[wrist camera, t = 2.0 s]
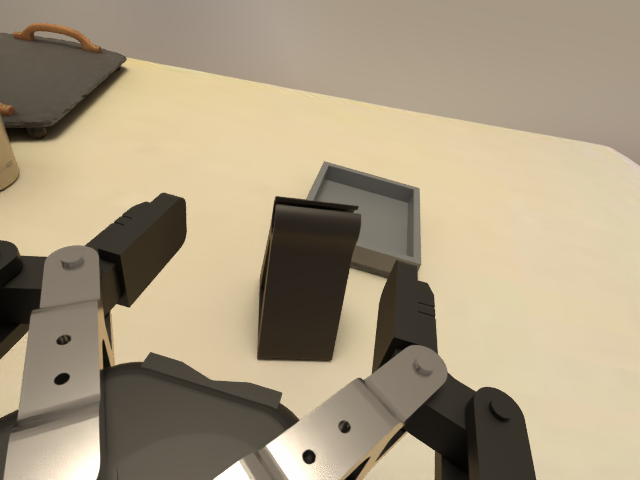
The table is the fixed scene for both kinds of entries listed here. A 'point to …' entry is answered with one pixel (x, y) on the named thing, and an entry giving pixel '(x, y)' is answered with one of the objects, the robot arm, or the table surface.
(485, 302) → the table surface
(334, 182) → the tray
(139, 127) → the table surface
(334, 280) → the phone stand
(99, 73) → the serving board
